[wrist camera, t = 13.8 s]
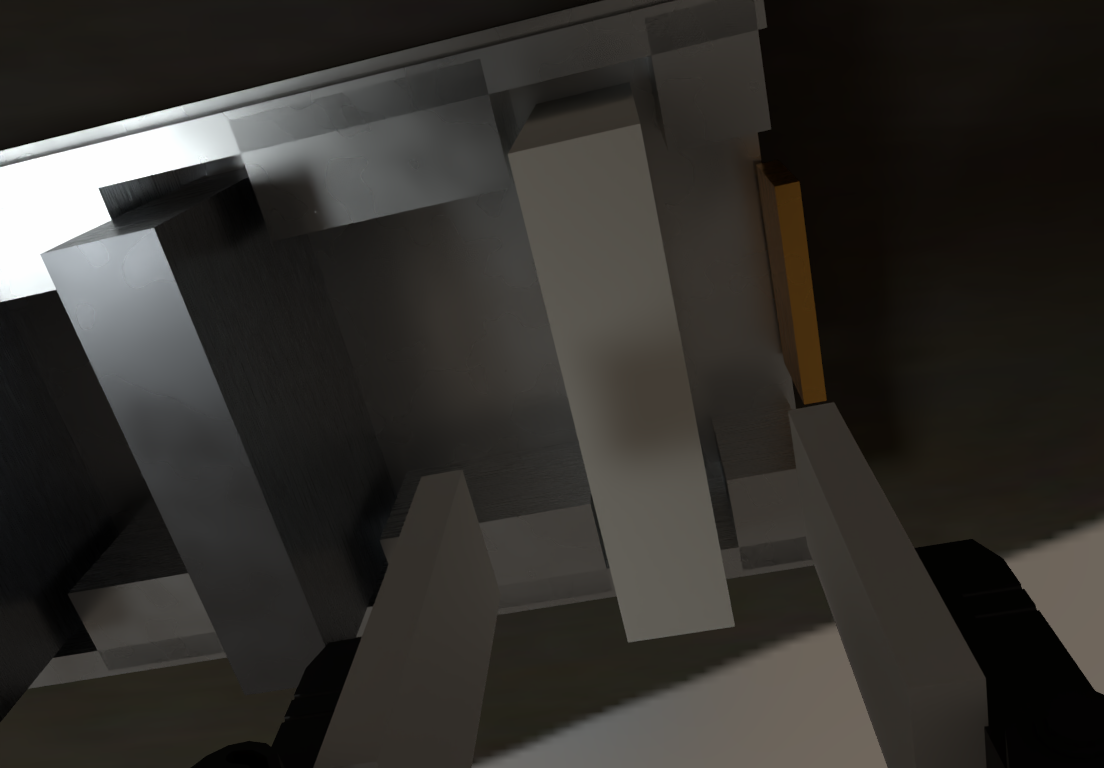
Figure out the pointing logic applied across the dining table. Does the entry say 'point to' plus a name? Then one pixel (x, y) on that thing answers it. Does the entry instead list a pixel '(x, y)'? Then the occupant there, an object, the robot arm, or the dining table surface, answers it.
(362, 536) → the rack
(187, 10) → the dining table surface
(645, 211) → the panel
